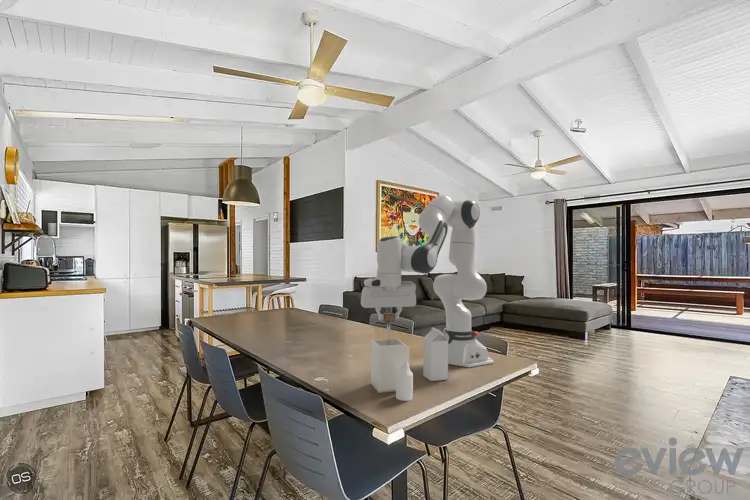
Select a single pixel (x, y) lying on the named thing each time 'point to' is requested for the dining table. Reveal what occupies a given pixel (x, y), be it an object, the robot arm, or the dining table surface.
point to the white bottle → (404, 383)
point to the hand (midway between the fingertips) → (388, 319)
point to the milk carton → (435, 356)
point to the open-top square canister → (387, 363)
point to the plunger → (388, 324)
